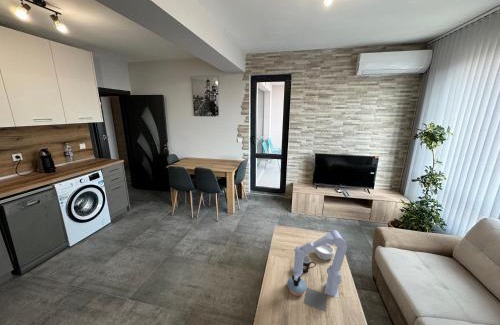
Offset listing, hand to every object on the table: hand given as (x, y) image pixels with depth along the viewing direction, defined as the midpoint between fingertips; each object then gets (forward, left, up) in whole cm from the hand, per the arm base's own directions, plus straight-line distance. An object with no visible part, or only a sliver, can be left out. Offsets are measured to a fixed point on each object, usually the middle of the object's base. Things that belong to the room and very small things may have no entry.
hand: (297, 281), depth 137 cm
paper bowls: (-44, +14, -7) cm, 47 cm away
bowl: (0, 0, -7) cm, 7 cm away
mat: (+2, +13, -7) cm, 15 cm away
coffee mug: (-20, +3, -7) cm, 21 cm away
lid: (0, 0, -3) cm, 3 cm away
